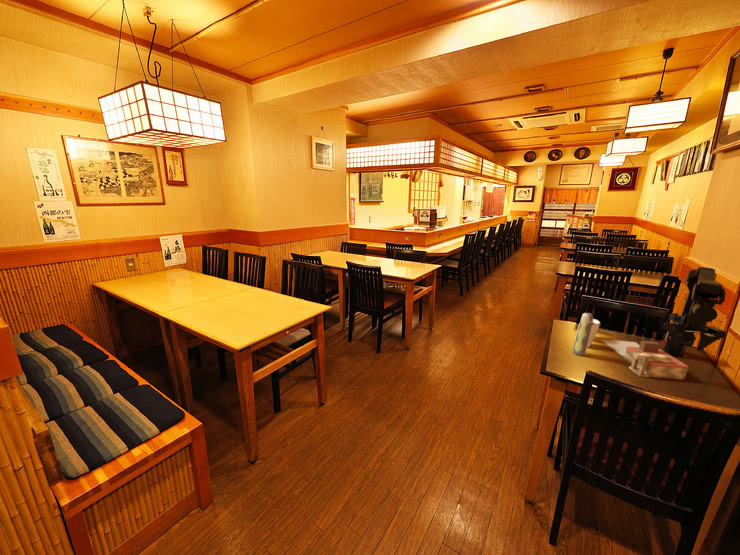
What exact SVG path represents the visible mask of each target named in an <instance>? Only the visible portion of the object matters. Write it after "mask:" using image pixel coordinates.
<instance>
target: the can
mask: <svg viewBox="0 0 740 555" xmlns="http://www.w3.org/2000/svg"><path fill="white" fill-rule="evenodd" d="M579 325H580V322H579V323H578V326H577V331H576V335H575V339H576V336H577V332H578V328H579ZM594 330H595V323H594V322H593V323H592V327H591V331H590V335H589V339H588V343H587V348H590V347H591V344H592V342H593V341H592V338H593V334H594ZM575 339H574V340H575Z"/></svg>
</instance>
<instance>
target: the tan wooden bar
mask: <svg viewBox="0 0 740 555" xmlns="http://www.w3.org/2000/svg"><path fill="white" fill-rule="evenodd" d="M643 355H645V356H648V357H649V360H648V361H654V362H666V363H670V362H671V359H672V358H671V357H669V356H668V355H661V354H649V353H637V352H633V355H632V357H633V358H634V359H635V360H642V358H643Z"/></svg>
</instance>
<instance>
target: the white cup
mask: <svg viewBox="0 0 740 555" xmlns="http://www.w3.org/2000/svg"><path fill="white" fill-rule="evenodd" d="M592 322H594V323H595V330H594V334H593V338H592V341H591V342H593V341H594V340H595V338H596V336H597V333H598V329H599V327H600V324H601V322H600V321H599V320H598V319H595V318H593V321H592Z"/></svg>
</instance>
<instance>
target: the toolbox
mask: <svg viewBox="0 0 740 555" xmlns="http://www.w3.org/2000/svg"><path fill="white" fill-rule="evenodd" d="M636 352H637V353H641V351H639V350H636ZM632 355H633V353H632V352H631V351H629V350H628V349H626V352H625V355H624V356H623V359H624V360H625V361H626V362H627V363H629V364H631V365H630V366H628V368H629V369H630V370H631V371H632V372H633V373H635V374H637V376H639V377H641V378H642V377H643V378H649V377H651V378H653V377H654V378H661V379H663V378H664V379H675V380H685V378H686V375H687V373H688V370H689V368H688V369H686V368H674V367H663V366H651V365H649V364H648V360H649V357H648V356H645V355H643V358H642V360H635V359H634V358H633V357H632Z"/></svg>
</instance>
